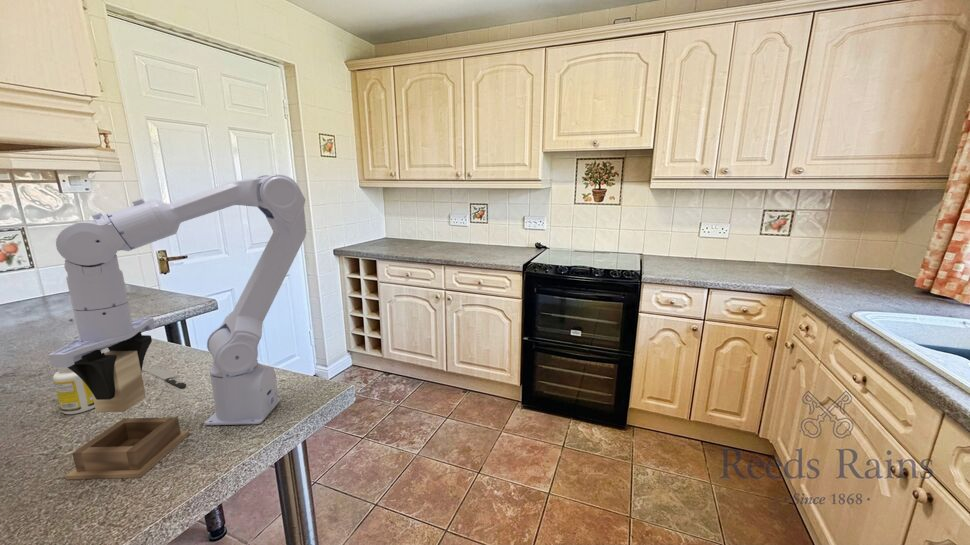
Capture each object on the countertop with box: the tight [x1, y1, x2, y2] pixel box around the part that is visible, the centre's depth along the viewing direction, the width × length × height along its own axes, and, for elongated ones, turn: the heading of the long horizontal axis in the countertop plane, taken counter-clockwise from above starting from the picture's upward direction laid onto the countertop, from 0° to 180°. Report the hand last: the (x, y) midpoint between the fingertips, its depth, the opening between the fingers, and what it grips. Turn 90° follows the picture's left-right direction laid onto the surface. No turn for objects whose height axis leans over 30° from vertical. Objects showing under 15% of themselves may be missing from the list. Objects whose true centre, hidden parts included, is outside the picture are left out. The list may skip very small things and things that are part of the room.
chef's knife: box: [142, 367, 187, 389], centre depth 84 cm, size 19×1×3 cm
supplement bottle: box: [52, 367, 95, 415], centre depth 71 cm, size 5×5×10 cm
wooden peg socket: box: [64, 416, 190, 481], centre depth 59 cm, size 10×10×4 cm
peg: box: [92, 350, 147, 413], centre depth 58 cm, size 4×4×8 cm
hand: (119, 390), depth 59 cm, fingers closed on peg, 4 cm apart
